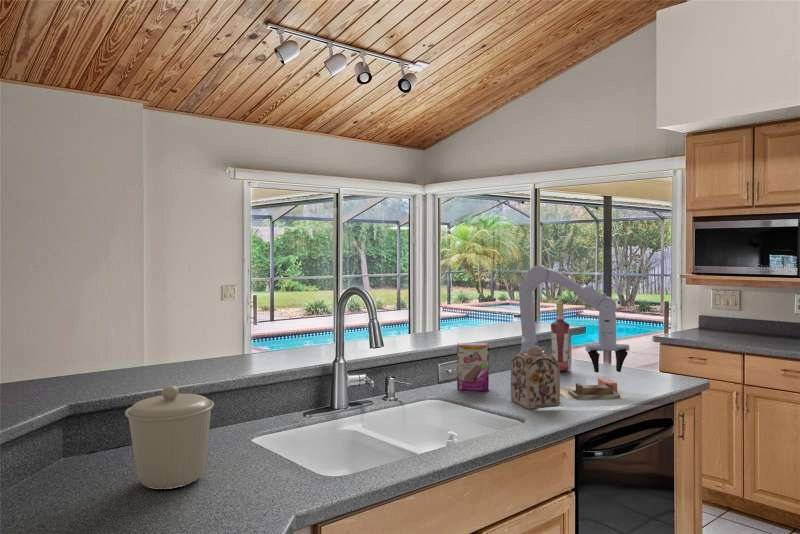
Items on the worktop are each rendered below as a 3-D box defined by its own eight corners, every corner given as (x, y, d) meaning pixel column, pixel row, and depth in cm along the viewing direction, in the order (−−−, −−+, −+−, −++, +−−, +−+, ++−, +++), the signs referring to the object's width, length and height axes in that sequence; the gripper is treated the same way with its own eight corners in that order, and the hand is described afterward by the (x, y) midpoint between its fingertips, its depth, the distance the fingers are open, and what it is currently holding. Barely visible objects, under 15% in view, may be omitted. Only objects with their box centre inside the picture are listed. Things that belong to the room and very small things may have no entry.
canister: (187, 460, 141) (185, 373, 141) (232, 478, 130) (230, 383, 129) (111, 484, 127) (109, 388, 127) (153, 506, 116) (151, 400, 115)
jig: (567, 402, 189) (567, 396, 189) (552, 390, 206) (552, 384, 206) (628, 401, 190) (628, 394, 190) (609, 389, 206) (609, 383, 206)
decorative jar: (560, 406, 185) (560, 349, 184) (527, 410, 182) (527, 352, 181) (541, 397, 196) (541, 344, 196) (510, 400, 193) (509, 346, 193)
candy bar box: (457, 391, 207) (456, 344, 206) (457, 388, 212) (456, 342, 211) (489, 391, 206) (488, 345, 205) (488, 388, 211) (488, 342, 210)
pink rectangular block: (606, 392, 198) (606, 383, 198) (598, 386, 206) (597, 378, 206) (617, 391, 198) (617, 383, 198) (608, 386, 206) (608, 377, 206)
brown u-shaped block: (579, 397, 191) (579, 385, 191) (575, 394, 195) (575, 383, 195) (613, 396, 191) (613, 385, 191) (608, 393, 195) (608, 382, 195)
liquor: (570, 373, 234) (569, 303, 233) (551, 372, 236) (550, 302, 235) (569, 369, 241) (568, 301, 241) (550, 368, 243) (550, 301, 242)
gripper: (590, 334, 197) (590, 374, 197) (633, 333, 197) (633, 373, 198) (583, 331, 204) (583, 370, 204) (624, 330, 204) (624, 369, 205)
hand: (607, 371), depth 202 cm, fingers open, 7 cm apart
